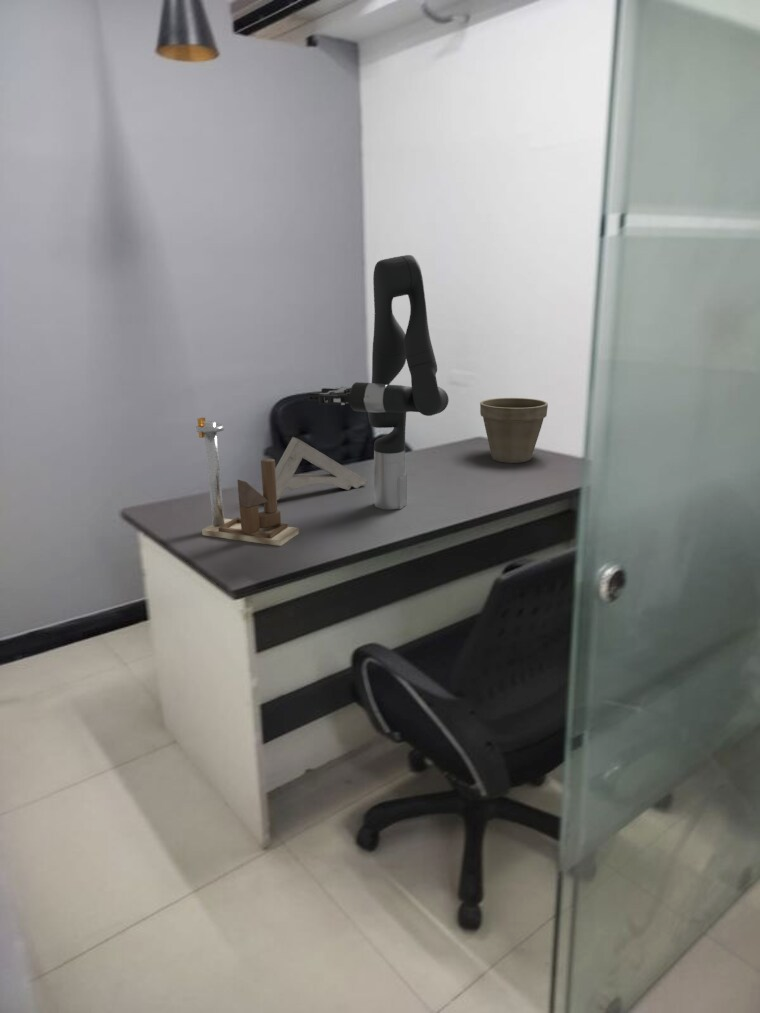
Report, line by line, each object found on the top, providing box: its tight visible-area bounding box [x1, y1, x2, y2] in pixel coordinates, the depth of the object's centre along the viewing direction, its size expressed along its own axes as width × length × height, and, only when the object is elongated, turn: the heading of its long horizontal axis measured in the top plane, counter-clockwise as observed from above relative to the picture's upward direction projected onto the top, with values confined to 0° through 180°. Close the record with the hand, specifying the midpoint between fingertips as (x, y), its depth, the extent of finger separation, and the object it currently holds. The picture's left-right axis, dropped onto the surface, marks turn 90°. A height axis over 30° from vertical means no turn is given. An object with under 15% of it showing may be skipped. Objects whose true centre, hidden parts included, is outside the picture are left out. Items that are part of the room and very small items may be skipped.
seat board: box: [201, 517, 300, 547], centre depth 184 cm, size 24×10×2 cm, turn 69°
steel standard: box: [196, 417, 225, 527], centre depth 183 cm, size 7×7×31 cm
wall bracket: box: [260, 436, 368, 501], centre depth 218 cm, size 22×4×30 cm
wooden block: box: [237, 457, 282, 534], centre depth 180 cm, size 4×11×18 cm, turn 138°
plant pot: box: [479, 397, 549, 464], centre depth 257 cm, size 25×25×22 cm
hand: (315, 394), depth 183 cm, fingers open, 8 cm apart
